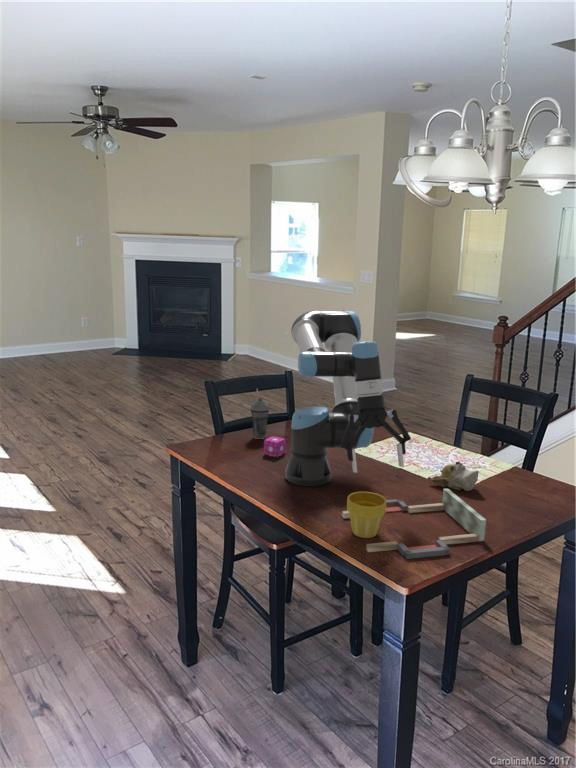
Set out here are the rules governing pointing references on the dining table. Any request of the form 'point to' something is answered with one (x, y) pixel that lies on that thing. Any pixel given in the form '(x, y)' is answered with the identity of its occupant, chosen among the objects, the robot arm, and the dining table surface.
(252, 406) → the beverage cup
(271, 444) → the puzzle toy
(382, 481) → the dining table surface
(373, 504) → the plant pot
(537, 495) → the dining table surface
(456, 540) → the box
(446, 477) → the ceramic sculpture
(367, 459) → the dining table surface
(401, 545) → the trap bays
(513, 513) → the dining table surface
